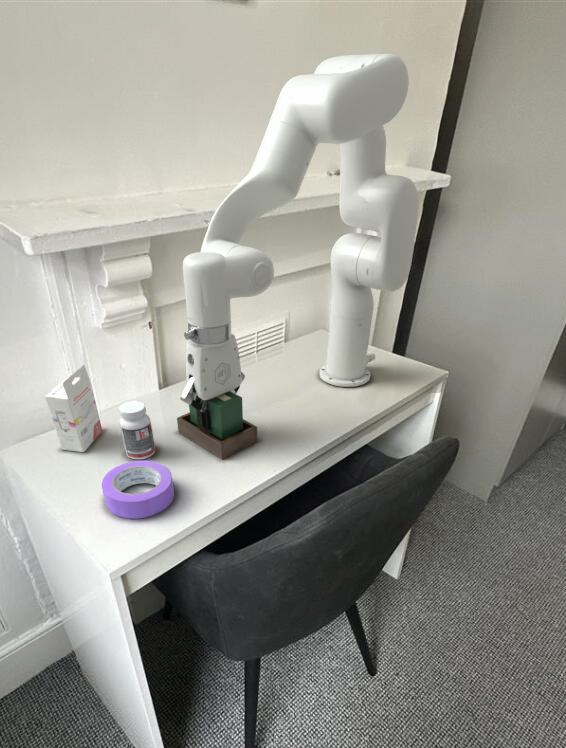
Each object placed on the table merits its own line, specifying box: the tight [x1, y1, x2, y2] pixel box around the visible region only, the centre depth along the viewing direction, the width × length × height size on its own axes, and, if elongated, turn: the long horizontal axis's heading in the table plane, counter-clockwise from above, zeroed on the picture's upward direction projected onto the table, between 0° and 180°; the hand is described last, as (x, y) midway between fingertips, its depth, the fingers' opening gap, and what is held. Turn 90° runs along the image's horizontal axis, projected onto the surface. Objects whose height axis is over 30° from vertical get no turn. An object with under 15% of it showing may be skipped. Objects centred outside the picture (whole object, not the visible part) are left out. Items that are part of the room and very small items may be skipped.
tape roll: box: [101, 460, 175, 520], centre depth 85 cm, size 12×12×4 cm
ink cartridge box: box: [44, 364, 103, 453], centre depth 95 cm, size 9×5×15 cm, turn 168°
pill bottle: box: [118, 400, 156, 461], centre depth 94 cm, size 6×6×10 cm
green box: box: [188, 391, 244, 439], centre depth 97 cm, size 10×6×7 cm, turn 44°
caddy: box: [176, 411, 258, 460], centre depth 100 cm, size 9×14×4 cm
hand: (216, 420), depth 99 cm, fingers closed on green box, 5 cm apart
